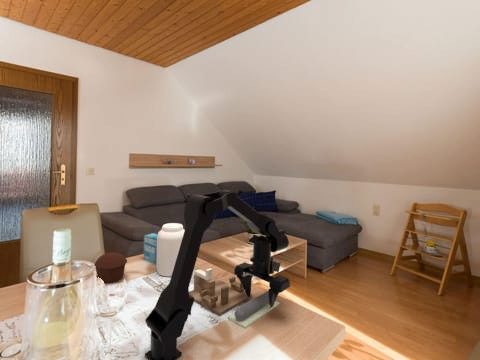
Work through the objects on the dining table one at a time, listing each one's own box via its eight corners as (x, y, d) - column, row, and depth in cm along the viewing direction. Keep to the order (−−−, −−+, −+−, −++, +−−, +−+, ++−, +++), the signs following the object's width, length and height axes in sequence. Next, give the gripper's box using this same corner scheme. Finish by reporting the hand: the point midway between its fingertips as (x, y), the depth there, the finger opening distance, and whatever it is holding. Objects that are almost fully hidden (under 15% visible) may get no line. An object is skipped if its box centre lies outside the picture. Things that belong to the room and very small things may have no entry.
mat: (279, 304, 90) (279, 302, 90) (245, 328, 76) (245, 326, 76) (262, 296, 95) (262, 295, 95) (227, 318, 81) (227, 316, 81)
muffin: (87, 282, 101) (87, 256, 100) (110, 270, 111) (110, 247, 111) (112, 287, 97) (112, 261, 96) (133, 275, 108) (133, 251, 107)
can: (171, 280, 105) (172, 230, 103) (150, 272, 112) (150, 225, 110) (192, 269, 116) (193, 224, 114) (172, 262, 122) (172, 219, 121)
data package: (143, 259, 125) (143, 234, 124) (151, 256, 129) (151, 232, 128) (161, 265, 118) (161, 239, 117) (168, 262, 122) (169, 237, 121)
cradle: (252, 297, 94) (252, 279, 94) (219, 316, 82) (219, 296, 81) (218, 281, 105) (219, 265, 105) (184, 296, 93) (185, 278, 92)
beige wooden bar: (212, 278, 93) (212, 269, 92) (207, 280, 91) (207, 270, 91) (199, 272, 97) (199, 263, 97) (194, 274, 95) (194, 265, 95)
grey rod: (275, 300, 91) (275, 291, 91) (240, 323, 78) (240, 313, 77) (267, 296, 93) (268, 288, 93) (232, 318, 80) (232, 308, 79)
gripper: (300, 256, 86) (297, 302, 87) (254, 243, 98) (252, 284, 99) (281, 265, 78) (278, 317, 79) (234, 249, 90) (232, 294, 91)
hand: (259, 301), depth 87 cm, fingers open, 9 cm apart
